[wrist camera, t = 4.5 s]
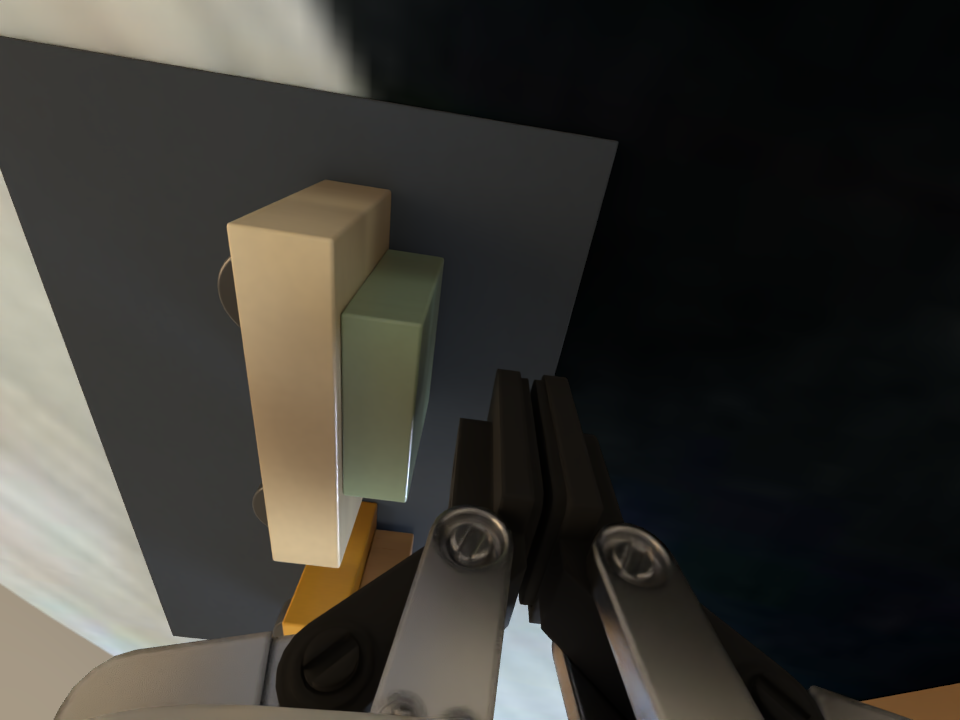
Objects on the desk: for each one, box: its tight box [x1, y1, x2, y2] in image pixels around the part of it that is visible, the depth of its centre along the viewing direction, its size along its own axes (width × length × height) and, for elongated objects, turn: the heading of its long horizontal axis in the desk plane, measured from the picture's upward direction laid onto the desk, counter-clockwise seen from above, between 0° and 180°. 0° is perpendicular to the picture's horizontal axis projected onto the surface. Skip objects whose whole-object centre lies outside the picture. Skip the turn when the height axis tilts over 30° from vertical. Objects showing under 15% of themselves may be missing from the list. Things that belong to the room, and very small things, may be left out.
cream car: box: [218, 180, 444, 568], centre depth 12 cm, size 9×4×5 cm, turn 172°
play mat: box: [0, 36, 618, 640], centre depth 17 cm, size 26×16×1 cm, turn 172°
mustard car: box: [273, 501, 414, 637], centre depth 18 cm, size 10×4×5 cm, turn 172°
